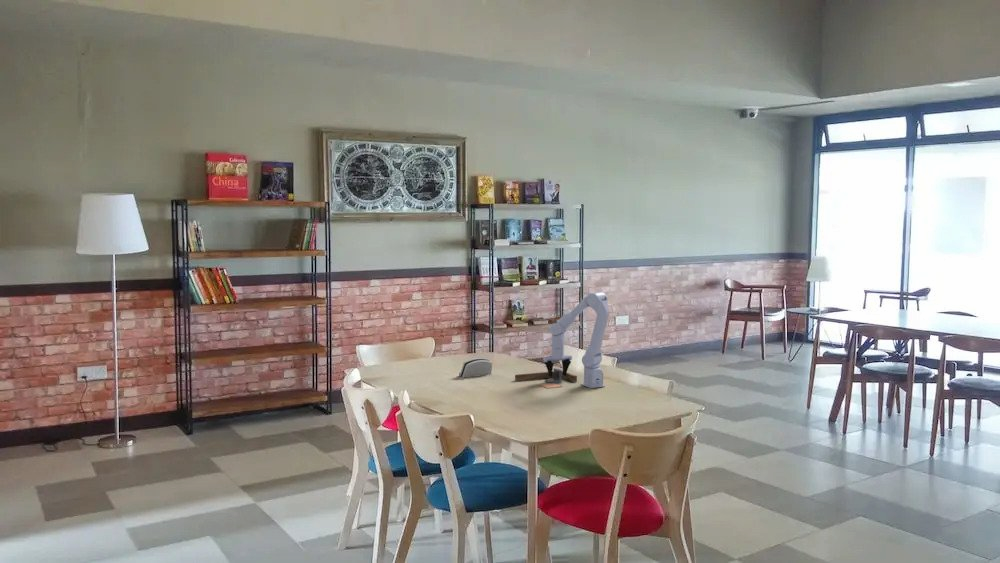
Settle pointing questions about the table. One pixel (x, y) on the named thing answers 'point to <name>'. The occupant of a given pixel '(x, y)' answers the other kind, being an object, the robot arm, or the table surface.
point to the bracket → (555, 377)
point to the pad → (550, 385)
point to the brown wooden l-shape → (543, 376)
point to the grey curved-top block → (476, 367)
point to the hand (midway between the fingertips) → (557, 375)
